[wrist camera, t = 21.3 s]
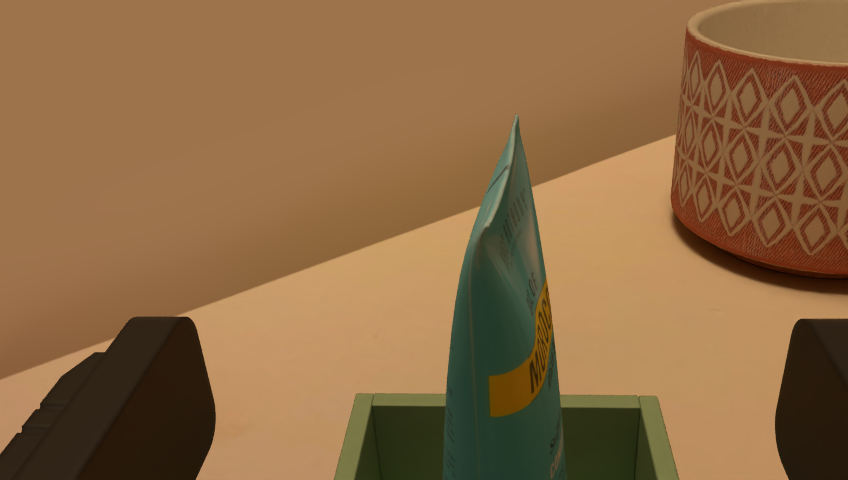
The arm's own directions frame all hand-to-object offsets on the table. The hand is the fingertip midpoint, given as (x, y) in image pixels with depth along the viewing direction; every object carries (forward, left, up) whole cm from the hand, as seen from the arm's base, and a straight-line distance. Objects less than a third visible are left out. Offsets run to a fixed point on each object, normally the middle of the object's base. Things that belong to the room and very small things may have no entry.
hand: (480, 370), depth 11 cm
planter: (+22, +45, -22) cm, 55 cm away
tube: (0, +11, -21) cm, 23 cm away
